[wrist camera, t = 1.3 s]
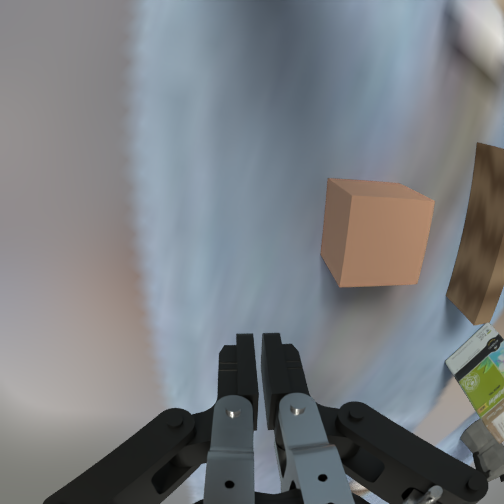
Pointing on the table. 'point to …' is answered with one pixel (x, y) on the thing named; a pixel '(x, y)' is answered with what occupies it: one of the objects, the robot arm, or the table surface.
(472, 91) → the table surface
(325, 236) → the terracotta block
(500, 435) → the tea box
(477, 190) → the walnut board
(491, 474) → the coffeepot
